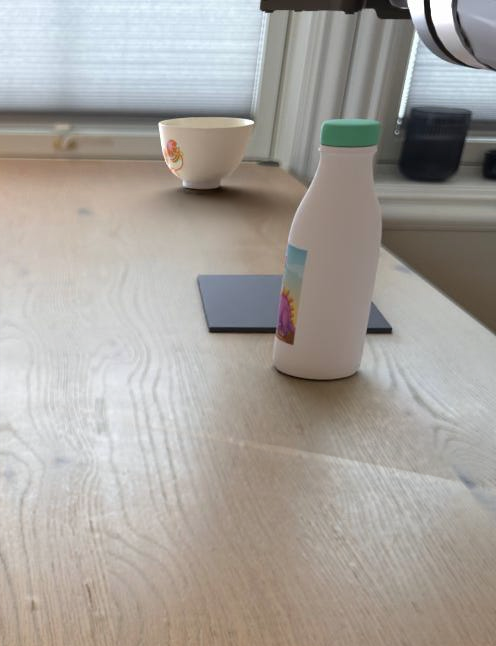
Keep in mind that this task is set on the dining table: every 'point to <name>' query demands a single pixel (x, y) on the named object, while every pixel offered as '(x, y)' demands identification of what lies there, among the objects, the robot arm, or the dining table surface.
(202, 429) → the dining table surface
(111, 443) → the dining table surface
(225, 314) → the placemat
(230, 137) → the bowl
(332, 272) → the milk bottle
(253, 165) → the dining table surface
